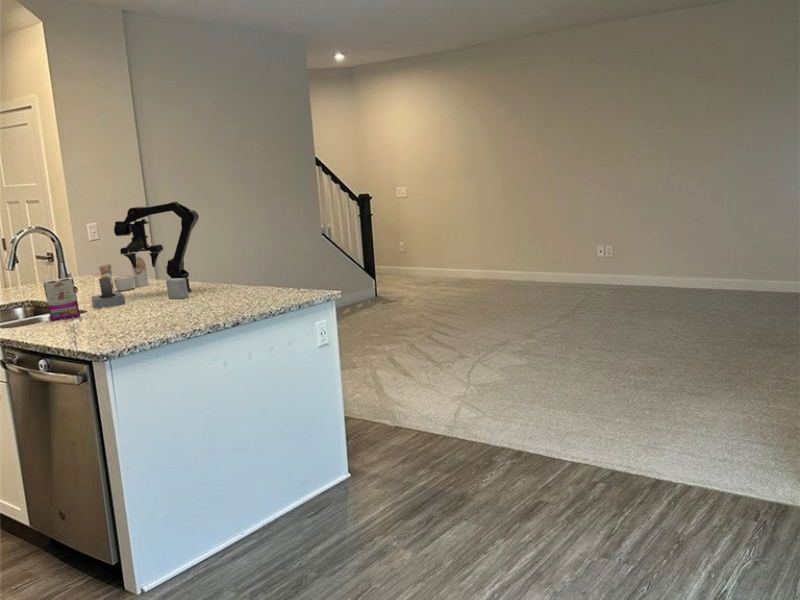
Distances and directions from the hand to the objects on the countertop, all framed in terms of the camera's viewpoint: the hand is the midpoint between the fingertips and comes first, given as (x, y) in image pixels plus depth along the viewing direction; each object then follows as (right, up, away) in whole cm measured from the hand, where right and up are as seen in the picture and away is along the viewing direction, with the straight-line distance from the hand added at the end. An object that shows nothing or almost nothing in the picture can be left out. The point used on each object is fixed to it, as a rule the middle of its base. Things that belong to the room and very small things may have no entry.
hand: (144, 267), depth 323 cm
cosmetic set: (-18, -10, +24) cm, 32 cm away
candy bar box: (-19, -23, -36) cm, 47 cm away
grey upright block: (-11, -17, -14) cm, 25 cm away
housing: (-11, -17, -14) cm, 25 cm away
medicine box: (+20, -14, -12) cm, 28 cm away
